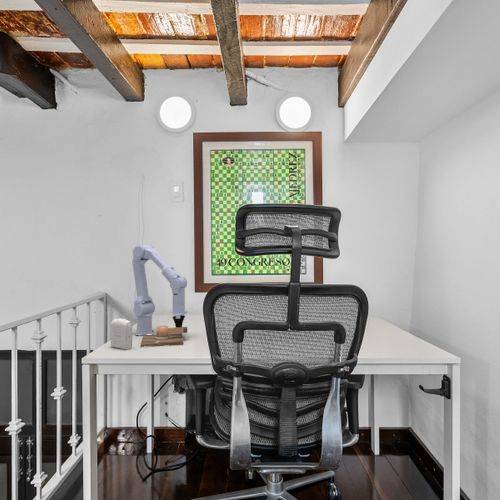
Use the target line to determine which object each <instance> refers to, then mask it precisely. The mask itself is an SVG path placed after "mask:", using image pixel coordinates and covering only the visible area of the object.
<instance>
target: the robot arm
mask: <svg viewBox="0 0 500 500" xmlns="http://www.w3.org/2000/svg"><path fill="white" fill-rule="evenodd" d="M149 260H151V261H152V262H153V263H154V264H155V265H156V266H157V267H158V268H159V269H160V270H161V274H162V275H163V277H164V278H165V279H166V280H167V282H168V283H169V286H170V289H171V292H172V312H171V313H172V315H173V316H172V321H174V324H175V325H174V327H183V323H184V320H185V318H186V314H188V311H186V305H185V303H186V300H185V299H186V296H185V295H186V288H187V286H188V281H187V278H186V277H185V276H182V275H181V274H180V273H178V272H177V271H176V269H175V267H174V266H173V265H168V264H167V263H166V262H165V260H164V259H163V257H161V255H160V254H159V253H158V249H156V248H155V246H154V245H153V244H148V245H147V244H146V245H145V244H137V245H136V246H135V247H134V248H133V249H132V268H133V276H134V284H135V290H136V299H135V300H134V301H133V314H134V315H135V317H136V333H135V336H136V335H138V336H143V335H147V334H153V333H154V331H153V332H152V330H153V315H154V312H155V310H156V305H155V303H154V301H153V298H152V297H151V296H150V295H149V288H148V282H147V274H146V267H145V264H146V263H147V262H149ZM153 335H154V334H153Z"/></svg>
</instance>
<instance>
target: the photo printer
mask: <svg viewBox="0 0 500 500" xmlns="http://www.w3.org/2000/svg"><path fill="white" fill-rule="evenodd" d="M110 347H112V348H117V349H121V350H131V349H132V347H133V323H132V322H131V321H130V320H128V319H125V318H115V319H112V320H111V323H110Z"/></svg>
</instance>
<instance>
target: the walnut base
mask: <svg viewBox="0 0 500 500" xmlns="http://www.w3.org/2000/svg"><path fill="white" fill-rule="evenodd" d="M183 339H184V338H183V333H172V334H168V336H165V337H158V336H157V333H156V334H153V335H142V339H141V342H140V348H144V346H151V347H165V346H164V345H169V346H183V345H184V340H183Z"/></svg>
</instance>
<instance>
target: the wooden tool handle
mask: <svg viewBox="0 0 500 500" xmlns="http://www.w3.org/2000/svg"><path fill="white" fill-rule="evenodd" d="M175 333H182V334H187V333H188V326H182V327H176V326H174V327H169V326H168V325H158V326H156V334H157V336H158V337H165V336H168V334H175Z"/></svg>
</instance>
